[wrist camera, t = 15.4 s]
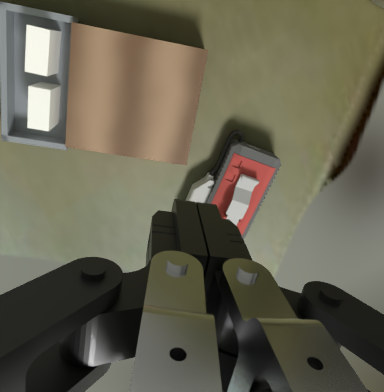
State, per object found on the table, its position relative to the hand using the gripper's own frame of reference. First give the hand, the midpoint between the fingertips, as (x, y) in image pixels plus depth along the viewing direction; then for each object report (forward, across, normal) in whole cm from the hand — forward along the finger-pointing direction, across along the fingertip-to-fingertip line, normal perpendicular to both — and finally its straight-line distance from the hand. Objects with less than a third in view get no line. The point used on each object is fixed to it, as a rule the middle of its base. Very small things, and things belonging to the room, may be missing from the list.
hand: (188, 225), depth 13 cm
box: (+29, +13, 0) cm, 32 cm away
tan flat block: (+29, +4, 0) cm, 29 cm away
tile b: (+26, +11, +2) cm, 29 cm away
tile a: (+26, +12, -3) cm, 29 cm away
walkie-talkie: (+30, -8, +12) cm, 33 cm away
